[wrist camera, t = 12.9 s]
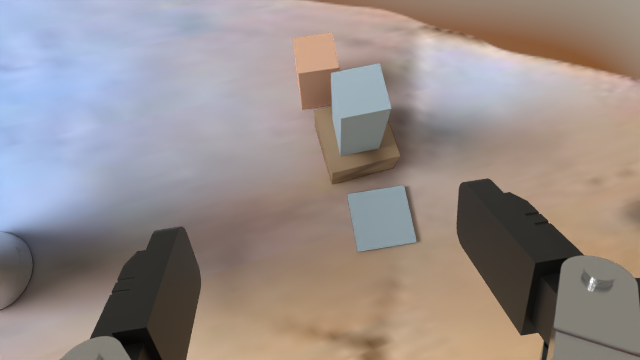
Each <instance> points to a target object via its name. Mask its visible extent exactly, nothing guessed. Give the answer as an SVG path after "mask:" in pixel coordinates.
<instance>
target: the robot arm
mask: <svg viewBox="0 0 640 360" xmlns="http://www.w3.org/2000/svg"><path fill="white" fill-rule="evenodd" d="M457 235H458V239H459V241H460V244H461V246H462V248H463V249H464V251H465V252H466V254H467V255H468V257H469V258H470V260H471V261H472V263H473V264H474V266H475V267H476V269H477V270H478V272H479V273H480V275H481V276H482V278H483V279H484V281H485V282H486V284H487V285H488V287H489V288H490V290H491V291H492V293H493V294H494V296H495V297H496V299H497V300H498V302H499V303H500V305H501V306H502V308H503V309H504V311H505V312H506V314H507V315H508V317H509V318H510V320H511V321H512V323H513V324H514V326H515V327H516V329H517V330H518V332H519V333H520V335H527V334H533V333H539V334H540V336H541V337H542V338H543V340H544V341H543V345H542V349H541V356H540V360H640V278H634V277H633V276H632V274H631V273H630V272H628V271H627V270H626V269H625V268H623V267H622V266H620V265H618V264H616V263H614V262H612V261H610V260H607V259H604V258H600V257H595V256H585V255H583V254H582V253H581V252H580V251H579V250H578V249H577V248H576V247H575V246H574V245H573V244H572V243H571V242H570V241H569V240H568V239H567V238H566V237H565V236H563V235H562V234H561V233H560V232H559V231H558V230H557V229H556V228H555V227H554V226H553V225H552V224H551V223H550V224H549V223H548V220H547V219H546V218H545V217H543V216H542V215H541V214H539V212H538V211H537V210H536V209H535V208H534V207H533V206H532V205H531V204H530V203H529V202H528V201H526V200H524V199H522V198H520V197H518V196H516V195H514V194H512V193H510V192H508V193H503V192H502V191H501V190H500V189H499V188H498V187H497V186H496V185H495V184H494V183H493V182H492V181H491V180H490V179H481V180H475V181H468V182H463V183H461V184H460V187H459V196H458V211H457ZM32 267H33V262H32V255H31V252H30V250H29V248H28V246H27V245H26V243H25V242H24V241H23V240H22V239H20V238H19V237H17V236H15V235H13V234H9V233H4V232H0V310H1V309H3V308H5V307H7V306H8V305H10V304H12V303H13V302H14V301H15V300H16V299H17V298H18V297H19V296H20V295H21V294H22V292H23V291H24V290H25V288H26V286H27V285H28V283H29V280H30V277H31V274H32ZM117 280H118V282H117V283H116V284H115V286H114V288H113V290H112V295H110V297H109V299H108V301H107V303H106V305H105V307H104V309H103V312H102V314H101V316H100V318H99V320H98V322H97V325H96V327H95V329H94V331H93V333H92V335H91V337H90V339H89V340H87V341H85V342H82V343H81V344H79V345H77V346H76V347H74V348H73V349H71V350H70V351H69V352H68V353H66V354H65V355H64V356H63V357H62V358H61V359H60V360H186V357H187V353H188V348H189V343H190V338H191V333H192V328H193V323H194V318H195V313H196V308H197V304H198V299H199V294H200V288H201V277H200V271H199V267H198V264H197V261H196V258H195V255H194V252H193V250H192V247H191V244H190V241H189V238H188V235H187V233H186V230H185V229H184V228H183V227H175V228H169V229H163V230H156V231H154V232H153V234H152V237H151V239H150V241H149V244H148V246H147V249H146V250H143V251H137V253H136V254H135V255H134V256H133V257H132V258H131V259H130V260H129V261H128V262H127V263H126V264H125V265H124V267H123V269H122V271H121V273H120V275H119V277H118V279H117Z"/></svg>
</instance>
